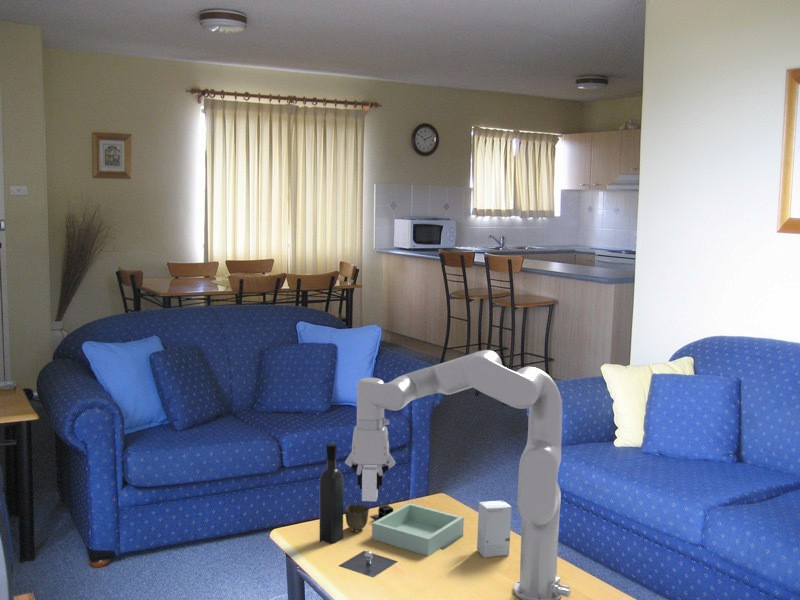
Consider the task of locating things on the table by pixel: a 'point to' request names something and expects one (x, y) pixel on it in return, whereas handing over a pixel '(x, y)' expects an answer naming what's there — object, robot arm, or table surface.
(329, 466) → the wine bottle
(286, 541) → the table surface
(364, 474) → the strut
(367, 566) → the stud plate
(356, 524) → the cup
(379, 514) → the black slotted box
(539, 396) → the robot arm
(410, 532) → the bin
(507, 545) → the skincare box
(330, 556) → the table surface
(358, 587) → the table surface
